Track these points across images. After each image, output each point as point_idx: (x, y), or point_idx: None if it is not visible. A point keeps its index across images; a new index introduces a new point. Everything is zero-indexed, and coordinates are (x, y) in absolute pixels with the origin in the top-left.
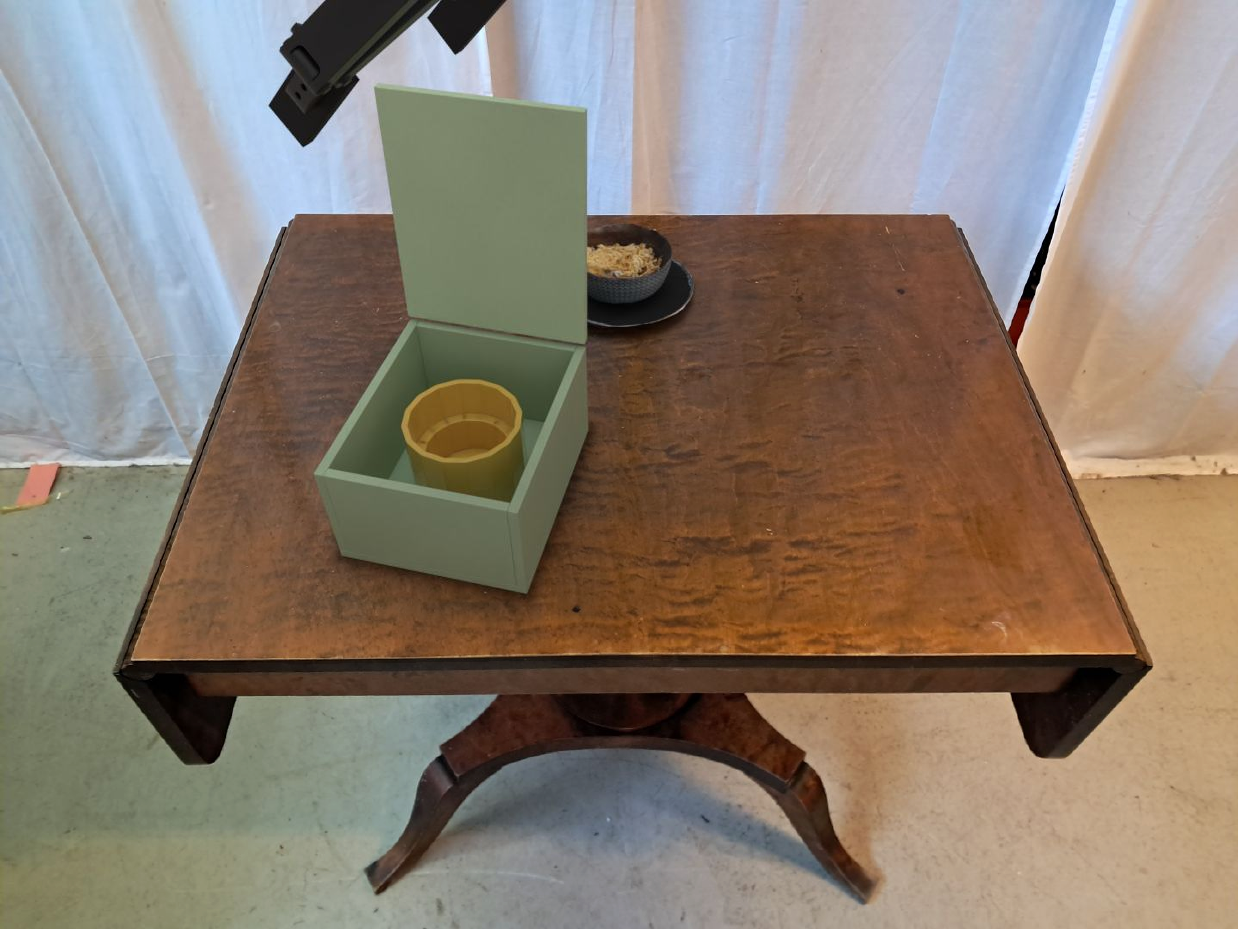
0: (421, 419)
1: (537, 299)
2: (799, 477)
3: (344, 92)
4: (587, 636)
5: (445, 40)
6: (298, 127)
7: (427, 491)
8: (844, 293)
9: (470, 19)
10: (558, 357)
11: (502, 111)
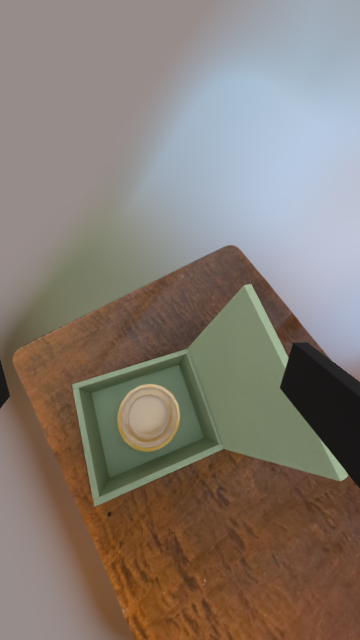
0: (147, 388)
1: (224, 420)
2: (246, 573)
3: None
4: (97, 531)
5: (285, 373)
6: None
7: (86, 446)
8: None
9: (322, 421)
10: (213, 433)
11: None
